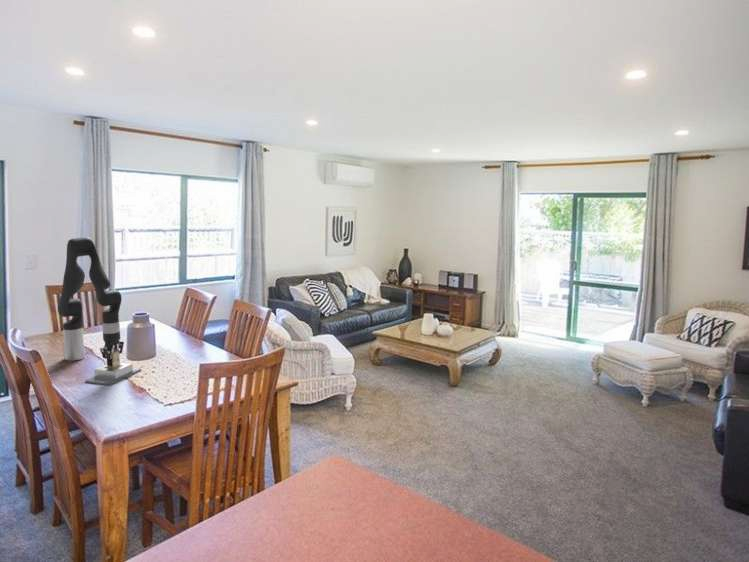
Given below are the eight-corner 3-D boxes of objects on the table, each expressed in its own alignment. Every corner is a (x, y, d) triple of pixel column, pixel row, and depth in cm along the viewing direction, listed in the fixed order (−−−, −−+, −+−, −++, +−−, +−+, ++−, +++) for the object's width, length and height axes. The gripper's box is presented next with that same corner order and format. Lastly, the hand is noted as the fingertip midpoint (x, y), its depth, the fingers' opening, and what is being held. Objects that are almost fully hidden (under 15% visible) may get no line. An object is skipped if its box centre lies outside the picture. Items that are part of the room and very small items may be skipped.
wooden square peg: (107, 371, 246) (106, 352, 244) (113, 368, 250) (112, 349, 248) (114, 372, 245) (113, 352, 244) (120, 369, 249) (119, 350, 248)
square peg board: (85, 382, 239) (84, 372, 238) (117, 367, 260) (117, 358, 259) (110, 385, 236) (109, 375, 235) (141, 370, 257) (140, 361, 256)
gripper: (115, 326, 252) (117, 359, 255) (93, 333, 238) (96, 368, 241) (128, 328, 250) (129, 360, 253) (107, 335, 237) (109, 369, 239)
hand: (113, 364), depth 247 cm, fingers closed on wooden square peg, 3 cm apart
